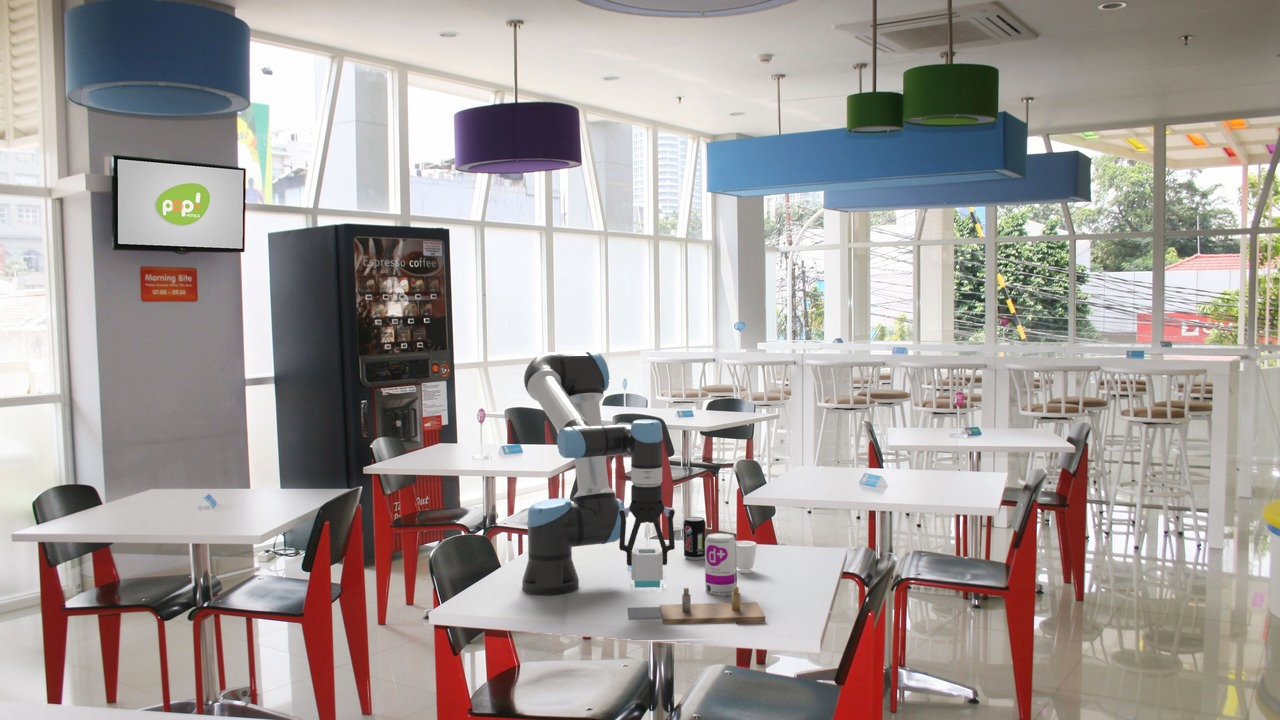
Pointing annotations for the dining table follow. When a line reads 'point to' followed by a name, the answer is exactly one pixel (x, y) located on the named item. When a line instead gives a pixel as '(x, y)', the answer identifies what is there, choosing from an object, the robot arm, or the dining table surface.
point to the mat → (644, 613)
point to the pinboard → (712, 611)
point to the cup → (745, 555)
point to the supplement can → (720, 564)
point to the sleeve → (647, 567)
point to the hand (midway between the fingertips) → (646, 578)
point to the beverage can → (694, 538)
